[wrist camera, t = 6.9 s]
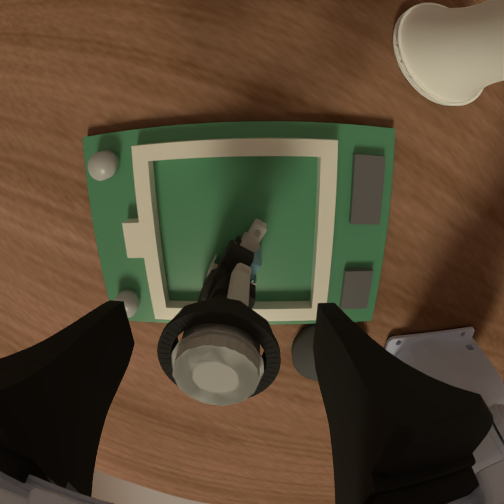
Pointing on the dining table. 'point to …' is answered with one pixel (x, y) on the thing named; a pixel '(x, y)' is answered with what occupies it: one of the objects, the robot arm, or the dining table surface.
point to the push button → (223, 331)
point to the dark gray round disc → (305, 352)
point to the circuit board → (242, 213)
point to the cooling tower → (451, 49)
